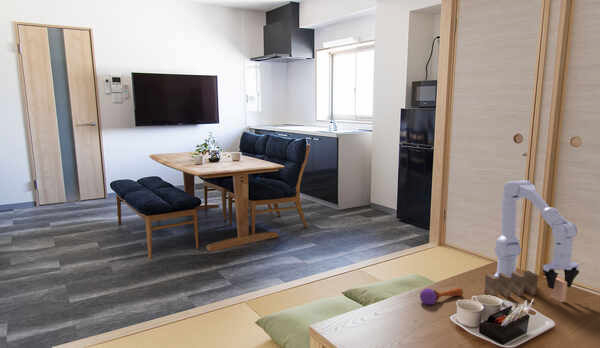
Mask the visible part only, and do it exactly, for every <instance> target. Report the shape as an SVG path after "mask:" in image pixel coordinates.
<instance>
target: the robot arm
mask: <svg viewBox="0 0 600 348" xmlns="http://www.w3.org/2000/svg"><path fill="white" fill-rule="evenodd" d="M503 188H504V189H503V193H502V196H501V198H502V199H501V235H500V236H499V237H498V238H497V239H496V243H495V246H494V252H495V255H496V257H497V265H496V266H497V267H496V272H495V274H494V275H493V276H495V277H496V278H498V277H499V273H504V274H506V275H508V276H510V277H511V275H512V272H517V258H518V256H519V255H520V254H521V252H522V248H521V244H520V239H518V237H517V236H516V228H517V227H516V226H517V225H516V222H517V219H516V218H517V217H516V216H517V201H518V200H520V199H521V198H524V199H527V200H529V201H530V202H531V203H532V204H533V206H535V208H537V210H539V211H540V212H541V218H542V219H543V220H544V221H545V222H546V223H547V224H548V226H550V228H551V229H552V230H551V231H552V232H551V233H552V235H553V238H554V248H553V258H552V262H550V263H546V264H543V266H542V267H543V268H542V272H543V274H544V276H545V278H546V283H547V287H548V288H550V289H554V286H555V280H556V277H558V275H559V273H557V272H556V271H559V270H560V271H561V270H563V272H564V281H566V282H567V288H571V287H572V284H573V282H574V280H575V278H576V277H577V275H579V273H580V270H578V269H580V263H577V262H572V254H573V253H572V252H573V242H574V238H575V237H576V235H577V234H578V228H577V226H576V225H575V223H573V222H570V221H568V219H566V218H565V217H564V216H563V215H562V214H561V213H560V212H559V210H558V209H557V208H555V207H550V206H549V204H547V202H546V201H545V199H543V197H542V196H541V195H540V193H539V192H538V191H537V189H536V186H535V185H534V184H533V183H532V182H531V181H530V180H529V179H524V180H510V181H508V182H506V183H505V184H504V186H503Z"/></svg>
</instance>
